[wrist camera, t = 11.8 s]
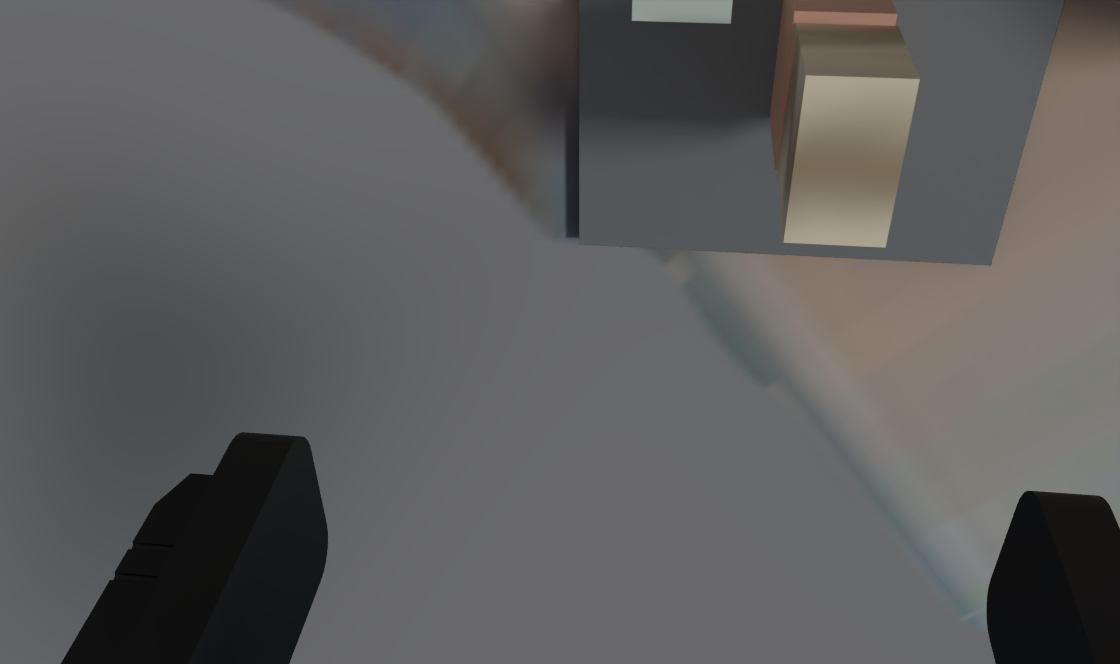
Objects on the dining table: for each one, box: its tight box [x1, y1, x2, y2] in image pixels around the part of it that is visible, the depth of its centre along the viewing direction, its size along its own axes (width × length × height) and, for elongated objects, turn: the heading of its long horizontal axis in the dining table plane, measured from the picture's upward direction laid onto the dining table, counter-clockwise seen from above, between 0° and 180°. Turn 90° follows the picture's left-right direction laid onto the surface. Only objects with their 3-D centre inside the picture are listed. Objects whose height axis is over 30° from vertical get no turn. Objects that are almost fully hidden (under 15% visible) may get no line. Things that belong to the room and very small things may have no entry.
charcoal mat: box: [579, 0, 1065, 265], centre depth 40 cm, size 20×18×1 cm
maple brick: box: [777, 23, 920, 248], centre depth 35 cm, size 6×3×4 cm, turn 1°
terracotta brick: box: [769, 0, 897, 170], centre depth 39 cm, size 6×3×4 cm, turn 1°
